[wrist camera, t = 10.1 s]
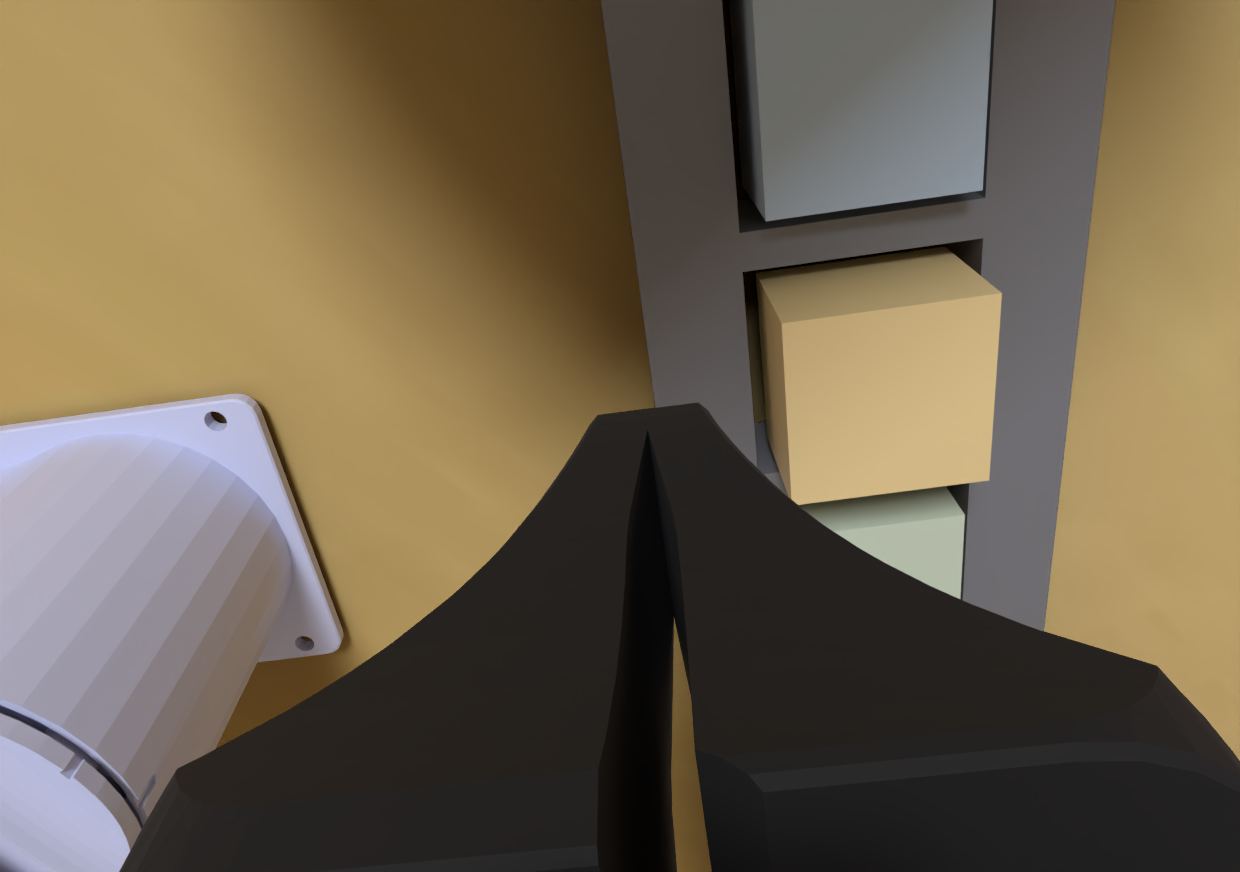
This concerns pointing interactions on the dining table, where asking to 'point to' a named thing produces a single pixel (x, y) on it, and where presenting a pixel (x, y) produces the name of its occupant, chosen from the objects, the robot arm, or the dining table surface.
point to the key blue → (859, 101)
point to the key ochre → (879, 374)
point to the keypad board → (878, 249)
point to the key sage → (904, 532)
